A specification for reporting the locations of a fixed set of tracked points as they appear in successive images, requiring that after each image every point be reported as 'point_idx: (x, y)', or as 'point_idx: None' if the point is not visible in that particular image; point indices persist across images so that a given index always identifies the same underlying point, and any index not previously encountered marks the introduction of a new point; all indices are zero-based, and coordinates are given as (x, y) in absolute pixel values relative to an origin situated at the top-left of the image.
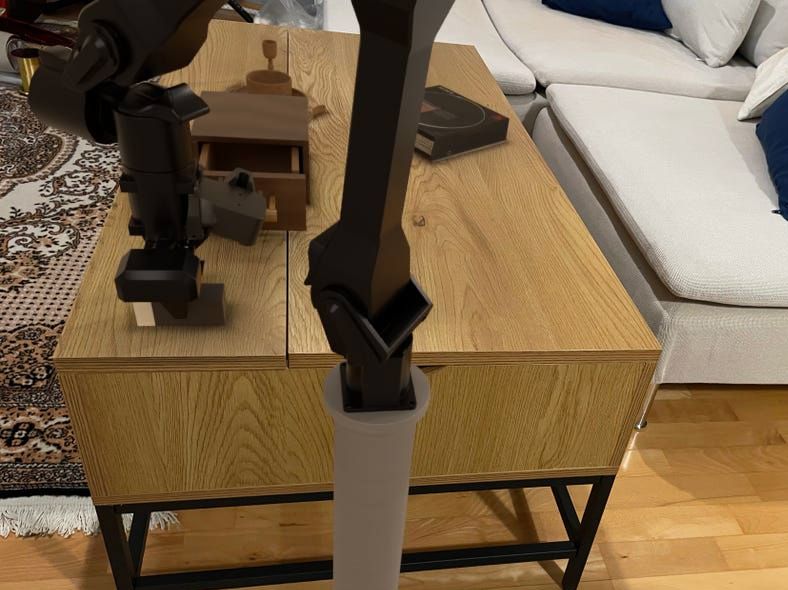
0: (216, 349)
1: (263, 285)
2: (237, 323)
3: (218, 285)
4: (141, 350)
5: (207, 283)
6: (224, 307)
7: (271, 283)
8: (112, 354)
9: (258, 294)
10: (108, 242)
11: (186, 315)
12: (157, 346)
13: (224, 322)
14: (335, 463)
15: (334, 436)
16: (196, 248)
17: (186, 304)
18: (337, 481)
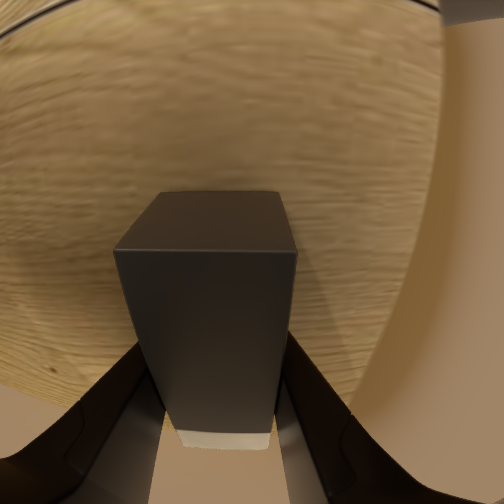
0: (406, 217)
1: (29, 90)
2: (268, 144)
3: (139, 276)
4: (354, 367)
5: (134, 321)
6: (233, 211)
7: (21, 69)
8: (350, 396)
9: (73, 91)
10: (31, 395)
11: (291, 336)
12: (350, 347)
13: (279, 196)
14: (455, 21)
15: (479, 13)
16: (64, 497)
17: (325, 380)
18: (444, 26)
